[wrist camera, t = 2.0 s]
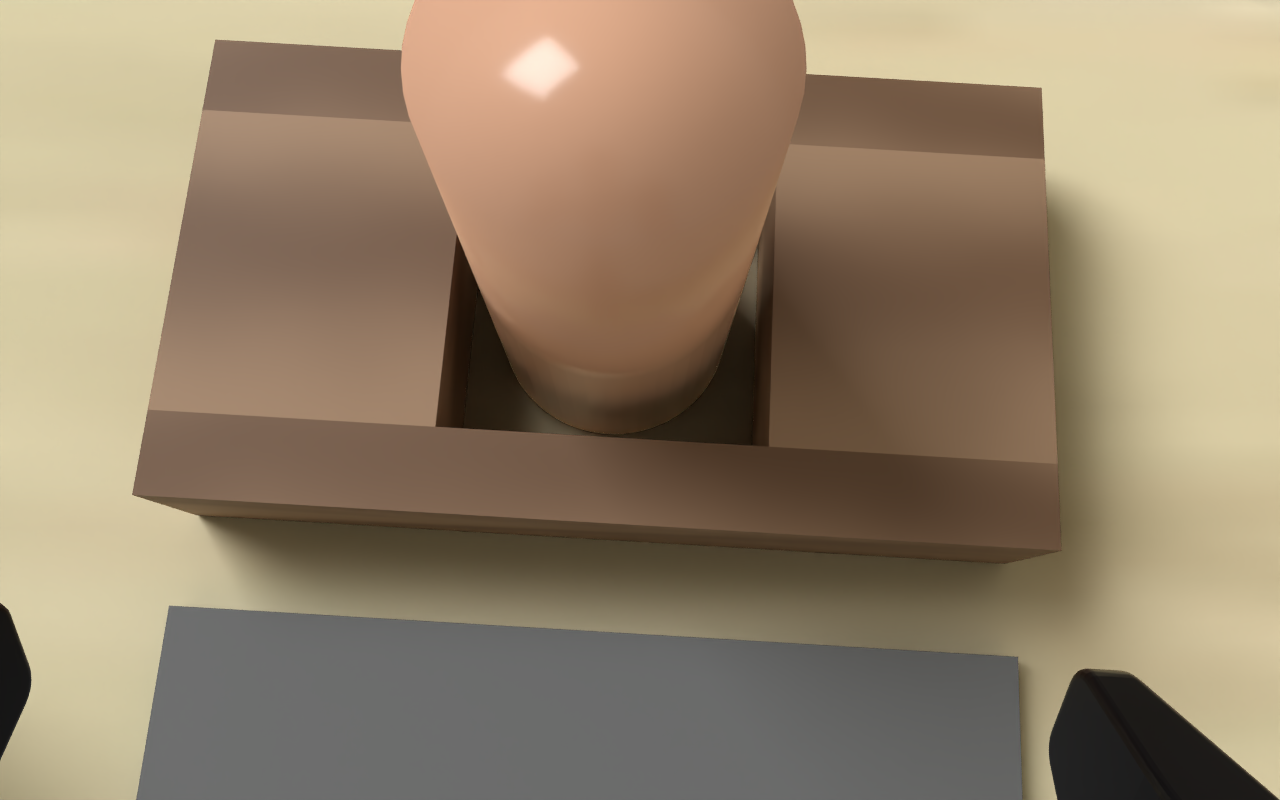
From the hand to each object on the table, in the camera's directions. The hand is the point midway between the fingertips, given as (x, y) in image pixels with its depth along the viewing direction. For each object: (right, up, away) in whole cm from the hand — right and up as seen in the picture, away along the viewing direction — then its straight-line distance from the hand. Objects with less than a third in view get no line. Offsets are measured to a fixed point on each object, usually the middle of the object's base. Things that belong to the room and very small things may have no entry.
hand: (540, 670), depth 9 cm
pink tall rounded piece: (0, +4, +15) cm, 16 cm away
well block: (0, +4, +15) cm, 16 cm away
